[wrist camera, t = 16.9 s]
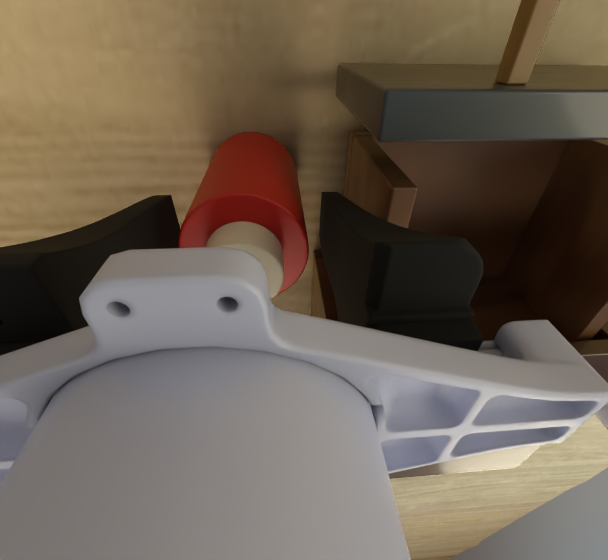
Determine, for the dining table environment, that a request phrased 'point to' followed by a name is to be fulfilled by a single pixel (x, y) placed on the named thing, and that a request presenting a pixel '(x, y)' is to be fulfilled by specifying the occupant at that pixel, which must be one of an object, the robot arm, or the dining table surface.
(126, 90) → the dining table surface
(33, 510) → the robot arm
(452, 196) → the drawer
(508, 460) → the cabinet
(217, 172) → the red plastic cylinder
